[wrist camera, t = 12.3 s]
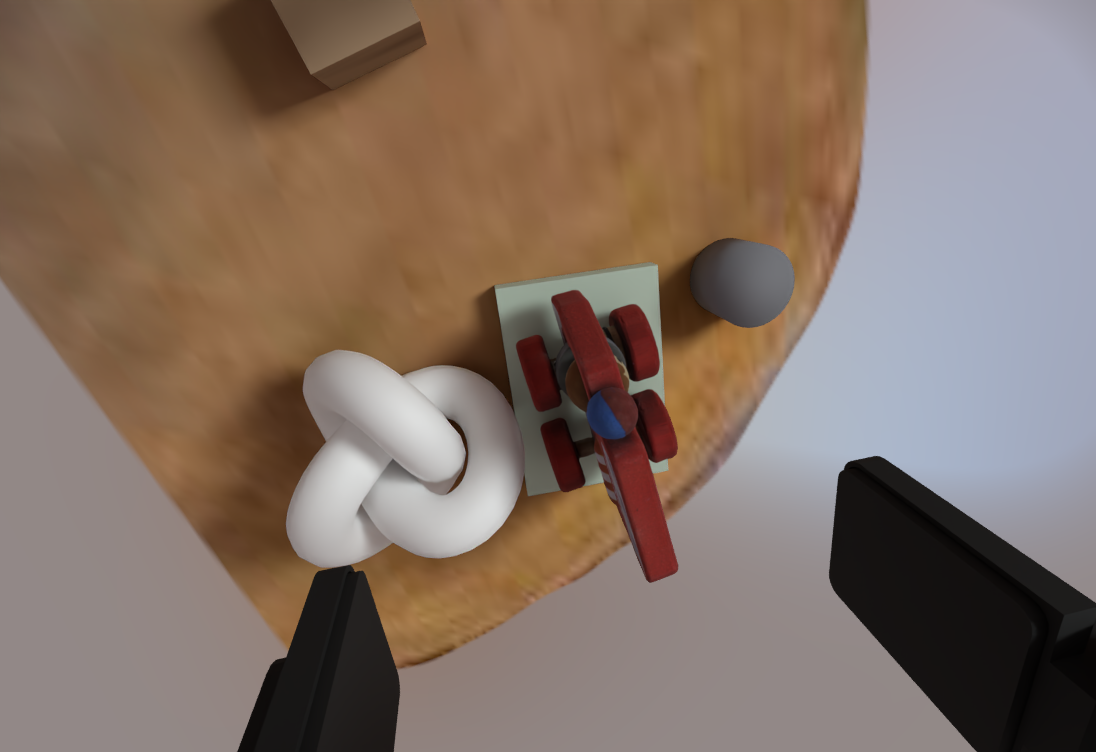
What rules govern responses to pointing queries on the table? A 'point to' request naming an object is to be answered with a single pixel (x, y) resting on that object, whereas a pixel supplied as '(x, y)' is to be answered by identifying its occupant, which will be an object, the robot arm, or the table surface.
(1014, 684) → the robot arm
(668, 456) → the red wheeled piece
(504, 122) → the table surface
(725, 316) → the grey rounded pebble
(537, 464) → the board
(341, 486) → the white knot
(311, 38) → the walnut block
